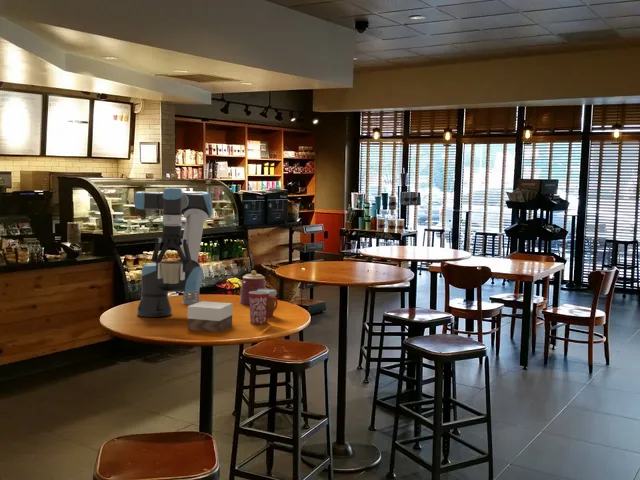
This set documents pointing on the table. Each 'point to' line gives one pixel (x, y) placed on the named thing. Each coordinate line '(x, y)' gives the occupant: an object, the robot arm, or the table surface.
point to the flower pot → (171, 271)
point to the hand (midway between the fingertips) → (171, 279)
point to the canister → (251, 285)
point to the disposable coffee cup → (272, 301)
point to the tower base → (209, 324)
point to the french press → (190, 299)
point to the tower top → (210, 310)
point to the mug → (260, 306)
